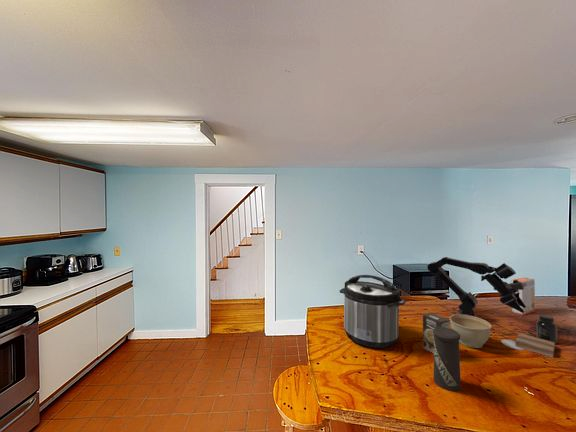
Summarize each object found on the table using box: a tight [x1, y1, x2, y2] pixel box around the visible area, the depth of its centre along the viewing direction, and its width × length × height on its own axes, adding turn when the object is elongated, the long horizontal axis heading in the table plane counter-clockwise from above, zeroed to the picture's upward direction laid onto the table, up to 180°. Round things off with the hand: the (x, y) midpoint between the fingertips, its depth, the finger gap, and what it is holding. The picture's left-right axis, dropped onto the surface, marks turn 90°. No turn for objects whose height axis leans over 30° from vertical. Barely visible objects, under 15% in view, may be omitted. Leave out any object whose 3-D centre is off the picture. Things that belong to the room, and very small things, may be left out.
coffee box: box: [422, 312, 451, 355], centre depth 110 cm, size 9×6×16 cm
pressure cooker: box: [339, 274, 407, 348], centre depth 125 cm, size 30×28×32 cm
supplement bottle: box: [536, 314, 558, 345], centre depth 118 cm, size 7×7×12 cm
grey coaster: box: [501, 339, 526, 351], centre depth 115 cm, size 9×9×1 cm
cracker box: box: [510, 276, 536, 316], centre depth 152 cm, size 14×6×21 cm, turn 111°
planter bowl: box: [449, 314, 492, 349], centre depth 117 cm, size 16×16×11 cm
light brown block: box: [514, 332, 556, 358], centre depth 113 cm, size 12×12×2 cm
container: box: [433, 327, 462, 392], centre depth 90 cm, size 9×9×20 cm
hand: (524, 309), depth 124 cm, fingers open, 9 cm apart
